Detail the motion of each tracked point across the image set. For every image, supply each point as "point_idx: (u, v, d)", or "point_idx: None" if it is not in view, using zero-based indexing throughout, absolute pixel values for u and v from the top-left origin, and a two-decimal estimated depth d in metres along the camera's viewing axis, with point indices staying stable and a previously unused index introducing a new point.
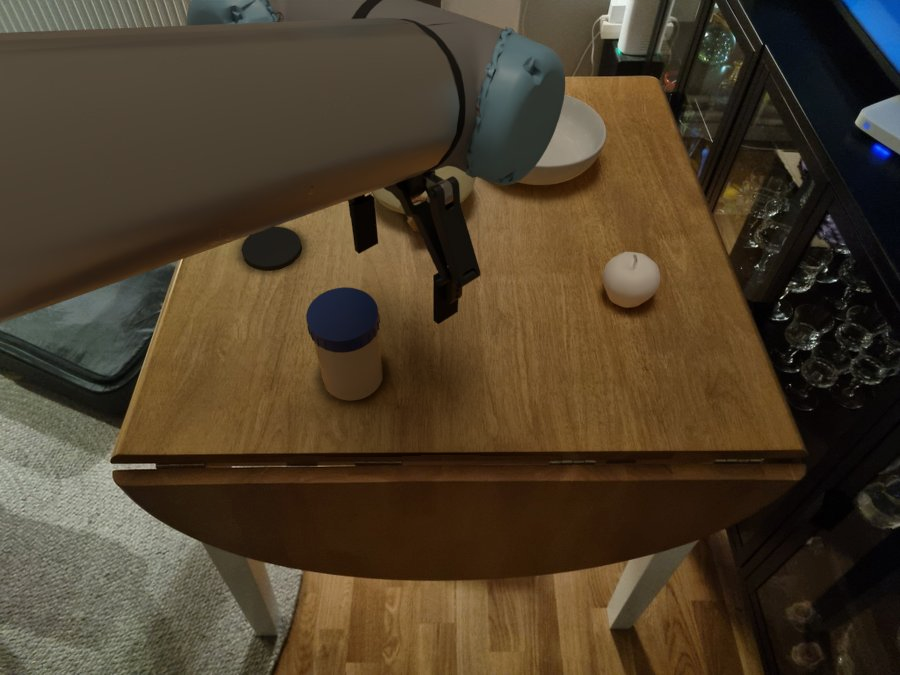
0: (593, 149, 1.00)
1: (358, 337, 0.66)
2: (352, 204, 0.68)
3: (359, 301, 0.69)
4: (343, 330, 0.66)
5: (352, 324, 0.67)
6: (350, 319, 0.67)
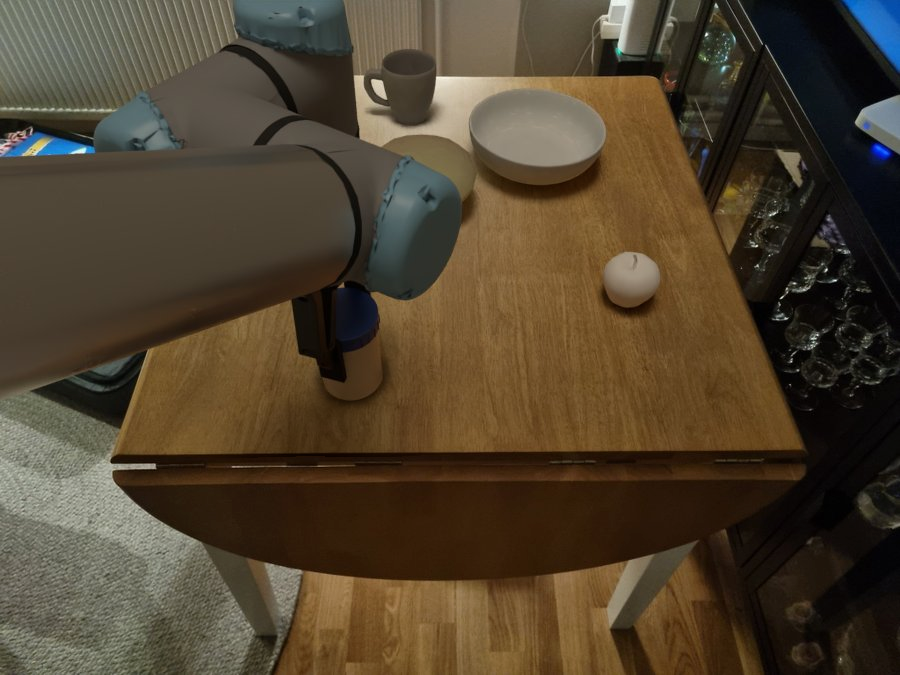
0: (593, 149, 1.00)
1: (358, 337, 0.66)
2: (347, 280, 0.70)
3: (359, 301, 0.69)
4: (343, 330, 0.66)
5: (352, 324, 0.67)
6: (350, 319, 0.67)
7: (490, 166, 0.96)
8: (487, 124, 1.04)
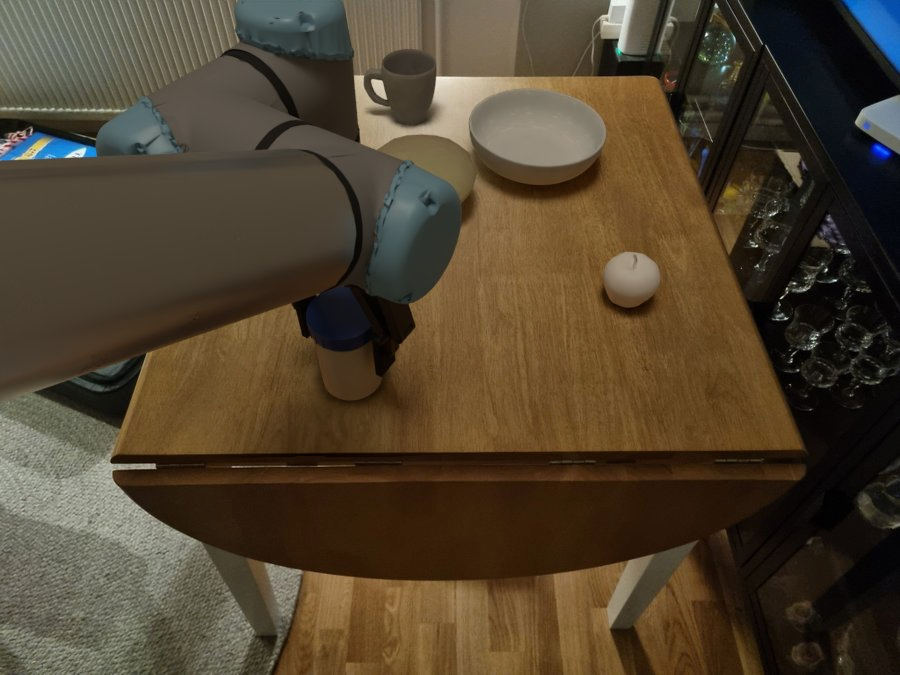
0: (593, 149, 1.00)
1: None
2: None
3: (320, 310, 0.67)
4: None
5: (347, 298, 0.69)
6: (343, 302, 0.68)
7: (490, 166, 0.96)
8: (487, 124, 1.04)
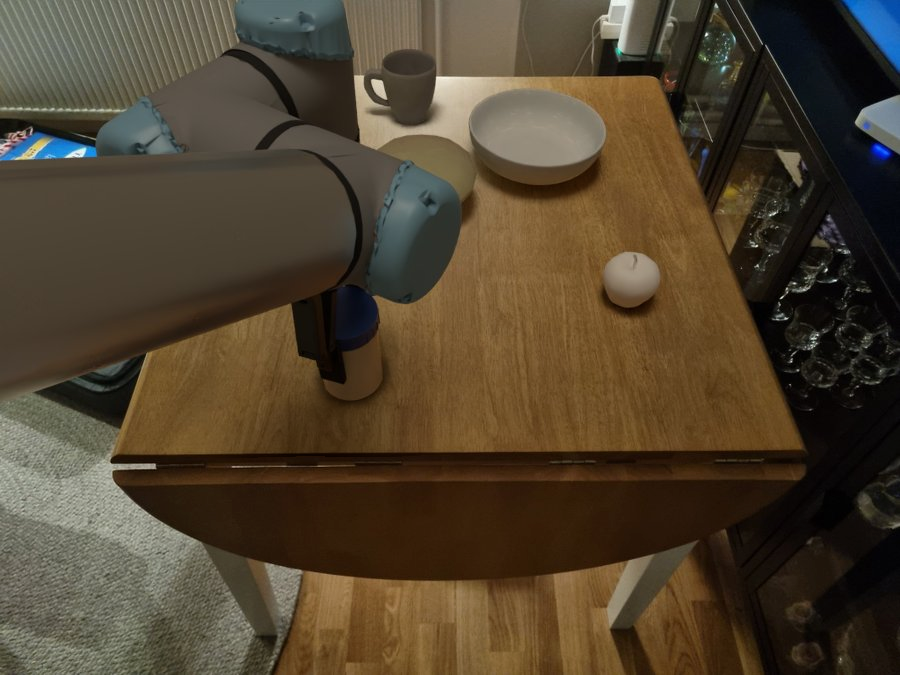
0: (593, 149, 1.00)
1: (356, 288, 0.70)
2: None
3: None
4: (358, 299, 0.69)
5: (347, 298, 0.69)
6: (343, 302, 0.68)
7: (490, 166, 0.96)
8: (487, 124, 1.04)
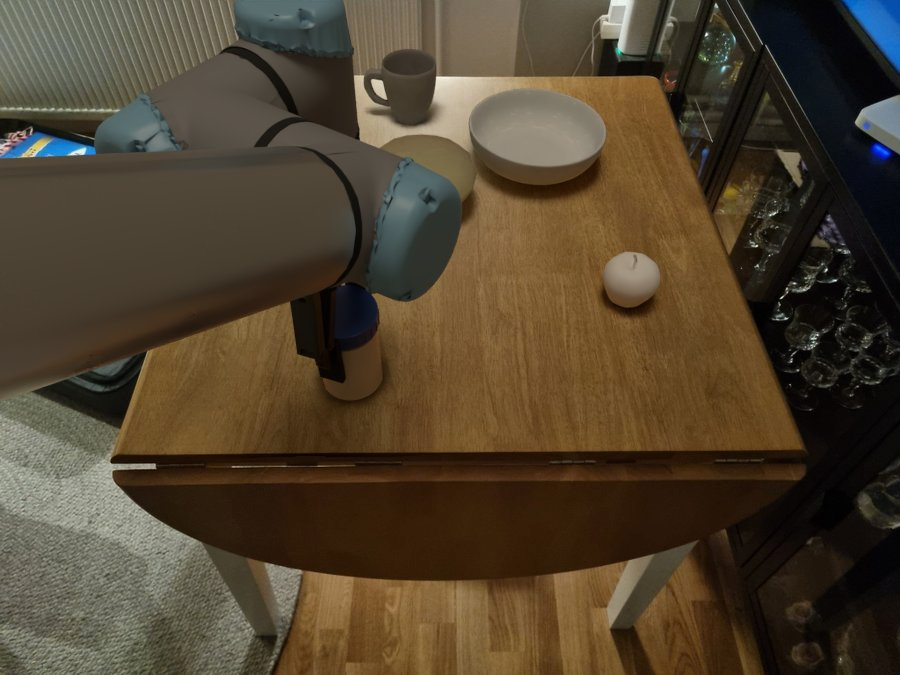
0: (593, 149, 1.00)
1: None
2: (348, 281, 0.70)
3: (354, 324, 0.66)
4: None
5: None
6: None
7: (490, 166, 0.96)
8: (487, 124, 1.04)
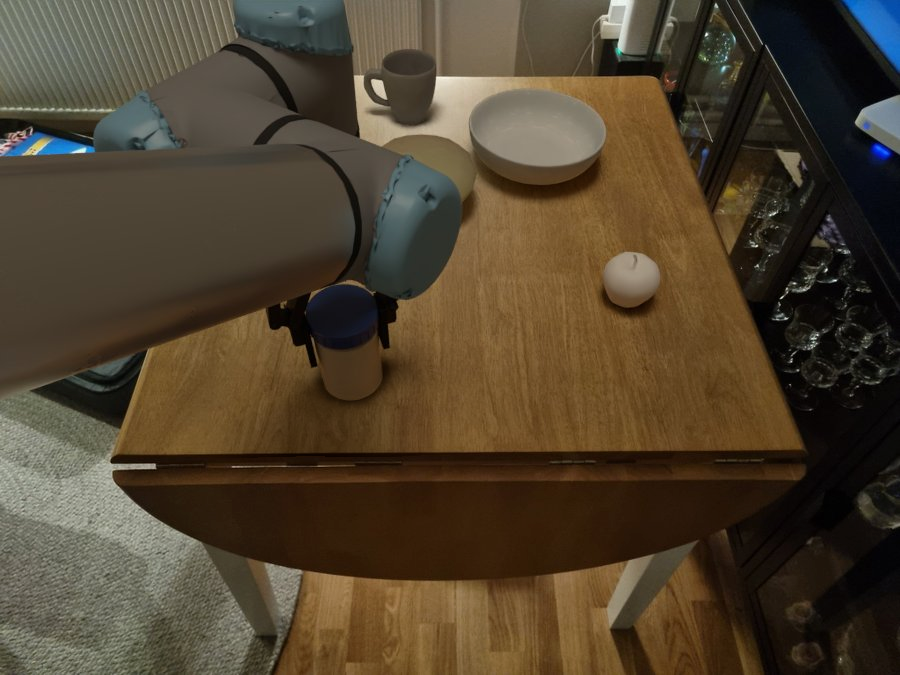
0: (593, 149, 1.00)
1: (371, 324, 0.66)
2: (303, 327, 0.66)
3: (349, 294, 0.69)
4: (354, 323, 0.66)
5: (358, 315, 0.67)
6: (353, 312, 0.67)
7: (490, 166, 0.96)
8: (487, 124, 1.04)
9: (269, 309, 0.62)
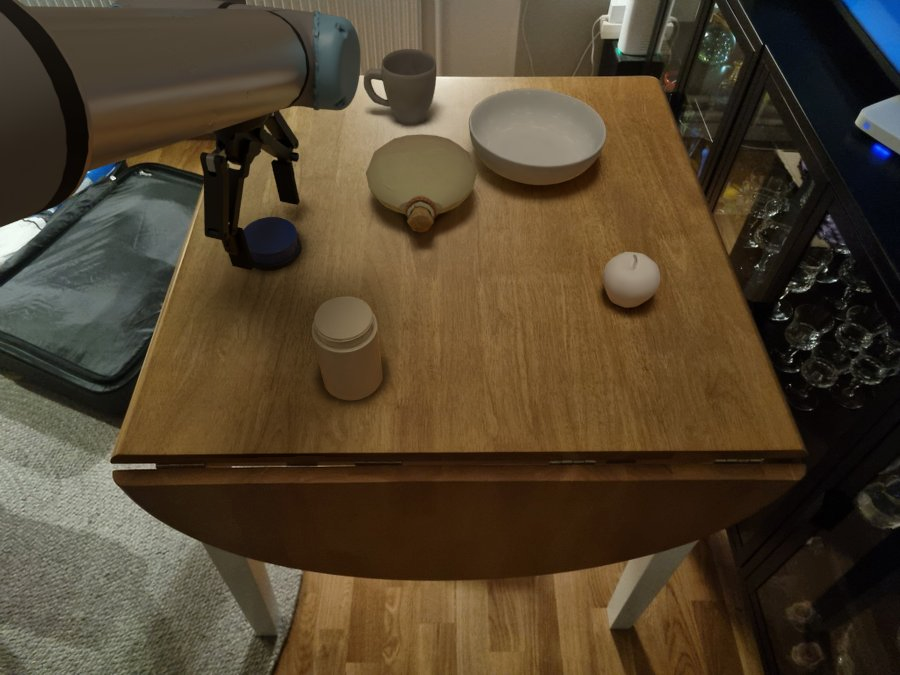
0: (593, 149, 1.00)
1: None
2: (238, 230, 0.78)
3: (259, 225, 0.88)
4: (286, 234, 0.87)
5: (282, 229, 0.88)
6: (276, 230, 0.88)
7: (490, 166, 0.96)
8: (487, 124, 1.04)
9: (223, 216, 0.73)
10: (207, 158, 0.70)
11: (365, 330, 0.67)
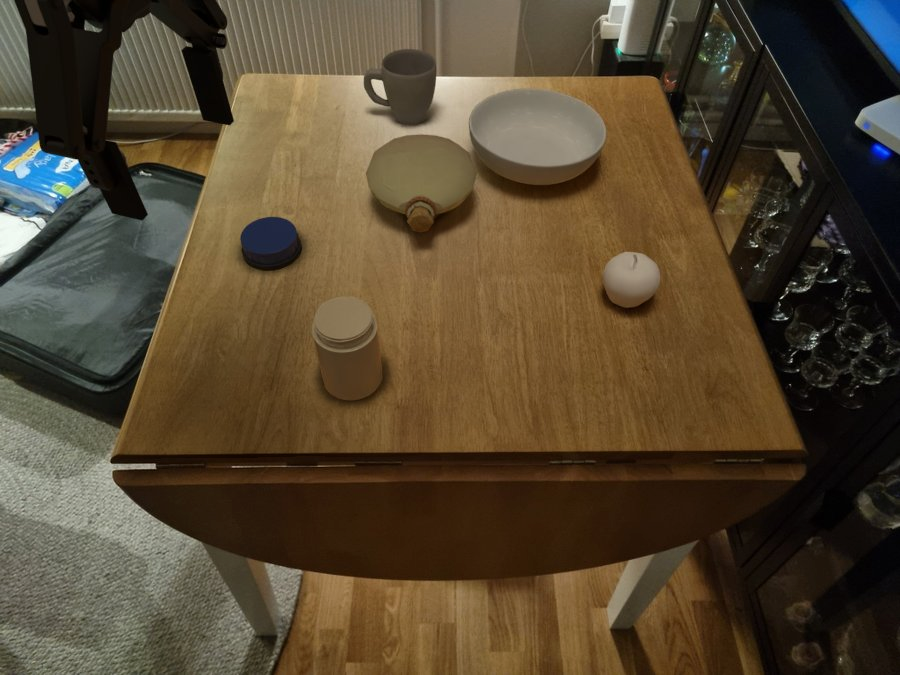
0: (593, 149, 1.00)
1: None
2: (108, 145, 0.45)
3: (259, 225, 0.88)
4: (286, 234, 0.87)
5: (282, 229, 0.88)
6: (276, 230, 0.88)
7: (490, 166, 0.96)
8: (487, 124, 1.04)
9: (68, 112, 0.41)
10: None
11: (365, 330, 0.67)
